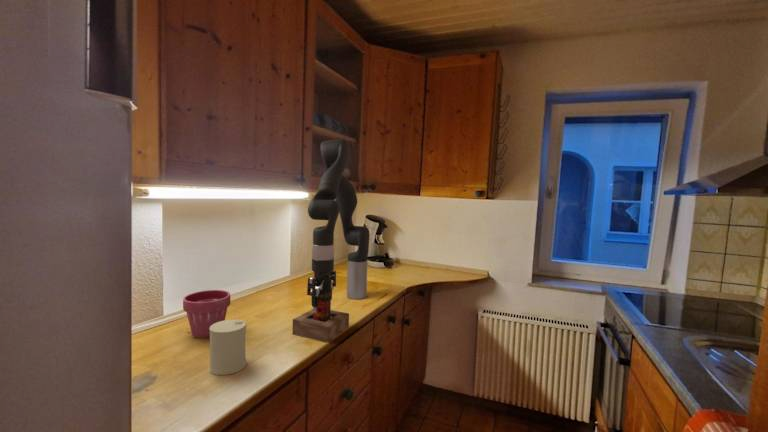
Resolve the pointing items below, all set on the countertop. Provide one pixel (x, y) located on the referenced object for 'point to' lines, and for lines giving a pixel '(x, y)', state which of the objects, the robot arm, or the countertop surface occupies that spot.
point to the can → (227, 346)
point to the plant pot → (205, 310)
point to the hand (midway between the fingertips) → (322, 303)
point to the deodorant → (323, 302)
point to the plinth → (320, 326)
